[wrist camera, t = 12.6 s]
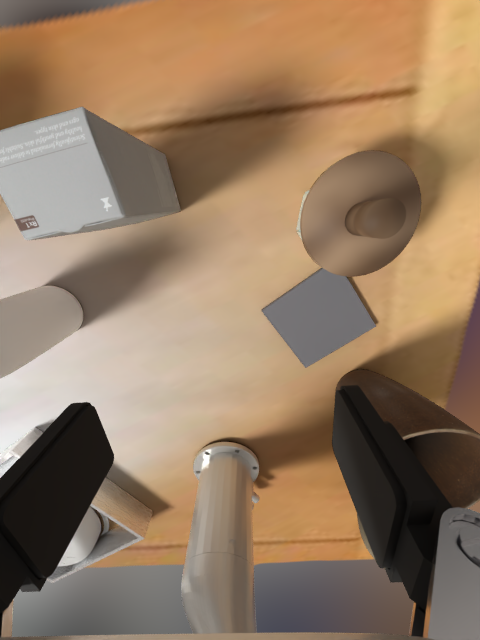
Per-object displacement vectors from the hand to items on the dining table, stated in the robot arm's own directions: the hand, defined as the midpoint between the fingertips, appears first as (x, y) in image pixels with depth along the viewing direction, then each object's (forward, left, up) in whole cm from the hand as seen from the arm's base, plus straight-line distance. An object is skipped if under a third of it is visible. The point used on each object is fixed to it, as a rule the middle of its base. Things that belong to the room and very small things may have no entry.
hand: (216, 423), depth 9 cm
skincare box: (+15, +3, -26) cm, 31 cm away
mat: (-12, -6, -26) cm, 30 cm away
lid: (-2, -15, -21) cm, 26 cm away
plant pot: (-27, -5, -26) cm, 38 cm away
